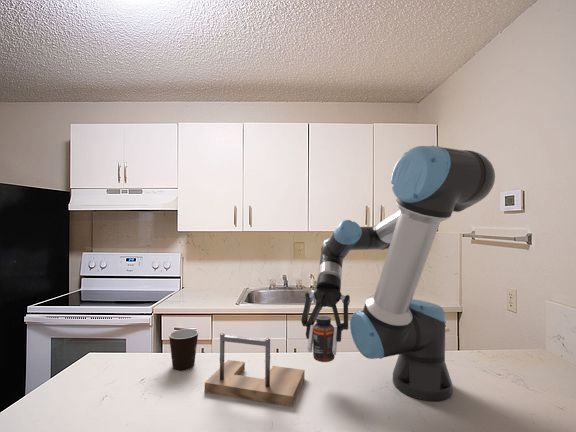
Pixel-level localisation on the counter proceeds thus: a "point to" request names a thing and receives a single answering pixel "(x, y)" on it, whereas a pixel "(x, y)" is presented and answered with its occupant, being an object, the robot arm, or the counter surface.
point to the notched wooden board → (257, 384)
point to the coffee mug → (183, 348)
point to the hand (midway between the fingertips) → (321, 351)
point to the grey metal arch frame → (245, 340)
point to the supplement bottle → (323, 339)
